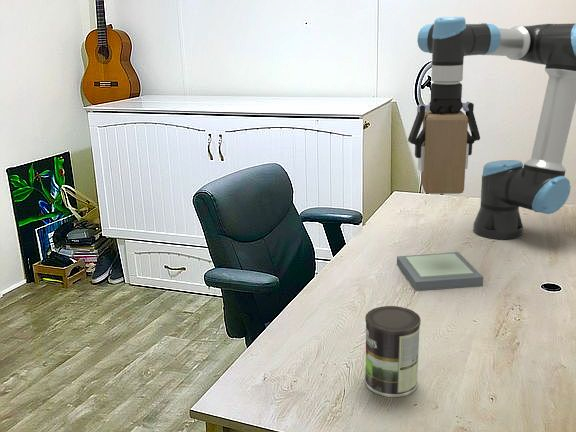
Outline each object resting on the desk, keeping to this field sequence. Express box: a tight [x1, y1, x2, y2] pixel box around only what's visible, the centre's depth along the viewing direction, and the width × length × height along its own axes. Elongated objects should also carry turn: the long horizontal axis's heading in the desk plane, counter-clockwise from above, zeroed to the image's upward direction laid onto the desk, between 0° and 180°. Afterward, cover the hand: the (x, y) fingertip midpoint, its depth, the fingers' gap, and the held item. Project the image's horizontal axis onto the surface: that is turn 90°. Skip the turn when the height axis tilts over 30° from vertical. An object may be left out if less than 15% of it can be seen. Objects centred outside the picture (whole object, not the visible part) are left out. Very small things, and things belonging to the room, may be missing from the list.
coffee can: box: [364, 305, 422, 398], centre depth 121 cm, size 10×10×14 cm
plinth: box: [396, 251, 484, 292], centre depth 171 cm, size 18×18×3 cm
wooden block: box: [420, 110, 469, 195], centre depth 161 cm, size 10×10×20 cm
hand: (442, 168), depth 163 cm, fingers closed on wooden block, 11 cm apart
